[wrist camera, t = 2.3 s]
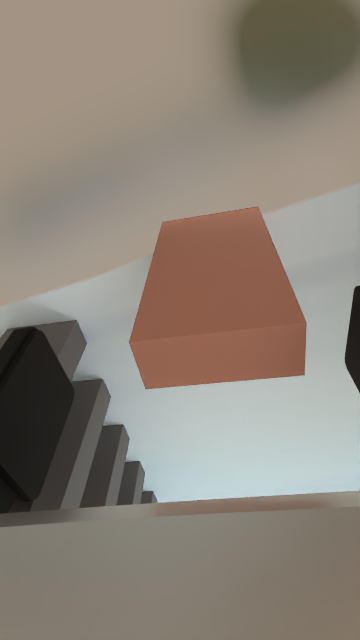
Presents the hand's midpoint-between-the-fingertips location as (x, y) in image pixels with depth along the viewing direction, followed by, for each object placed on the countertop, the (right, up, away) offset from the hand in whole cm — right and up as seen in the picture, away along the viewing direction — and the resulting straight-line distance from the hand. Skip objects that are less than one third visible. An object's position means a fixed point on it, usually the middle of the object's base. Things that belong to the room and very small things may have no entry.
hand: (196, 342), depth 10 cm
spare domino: (+1, +5, +8) cm, 10 cm away
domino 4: (-9, -5, +16) cm, 19 cm away
